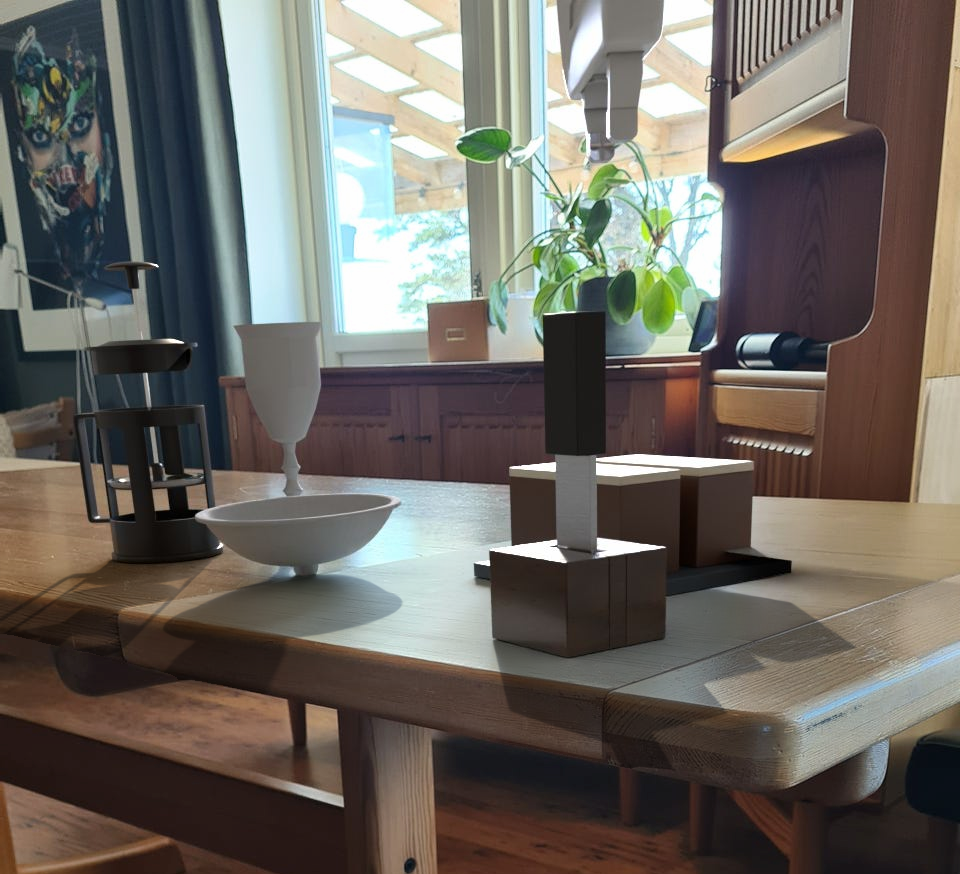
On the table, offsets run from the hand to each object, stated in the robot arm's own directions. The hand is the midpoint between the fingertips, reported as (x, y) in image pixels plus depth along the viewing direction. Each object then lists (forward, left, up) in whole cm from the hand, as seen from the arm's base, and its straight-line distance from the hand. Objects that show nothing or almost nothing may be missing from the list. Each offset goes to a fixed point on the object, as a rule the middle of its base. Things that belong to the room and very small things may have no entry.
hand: (611, 152), depth 87 cm
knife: (+19, +20, -28) cm, 39 cm away
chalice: (+13, -27, -28) cm, 41 cm away
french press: (+23, -33, -28) cm, 49 cm away
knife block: (+19, +20, -28) cm, 39 cm away
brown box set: (+3, +6, -28) cm, 28 cm away
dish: (+19, -13, -28) cm, 36 cm away
